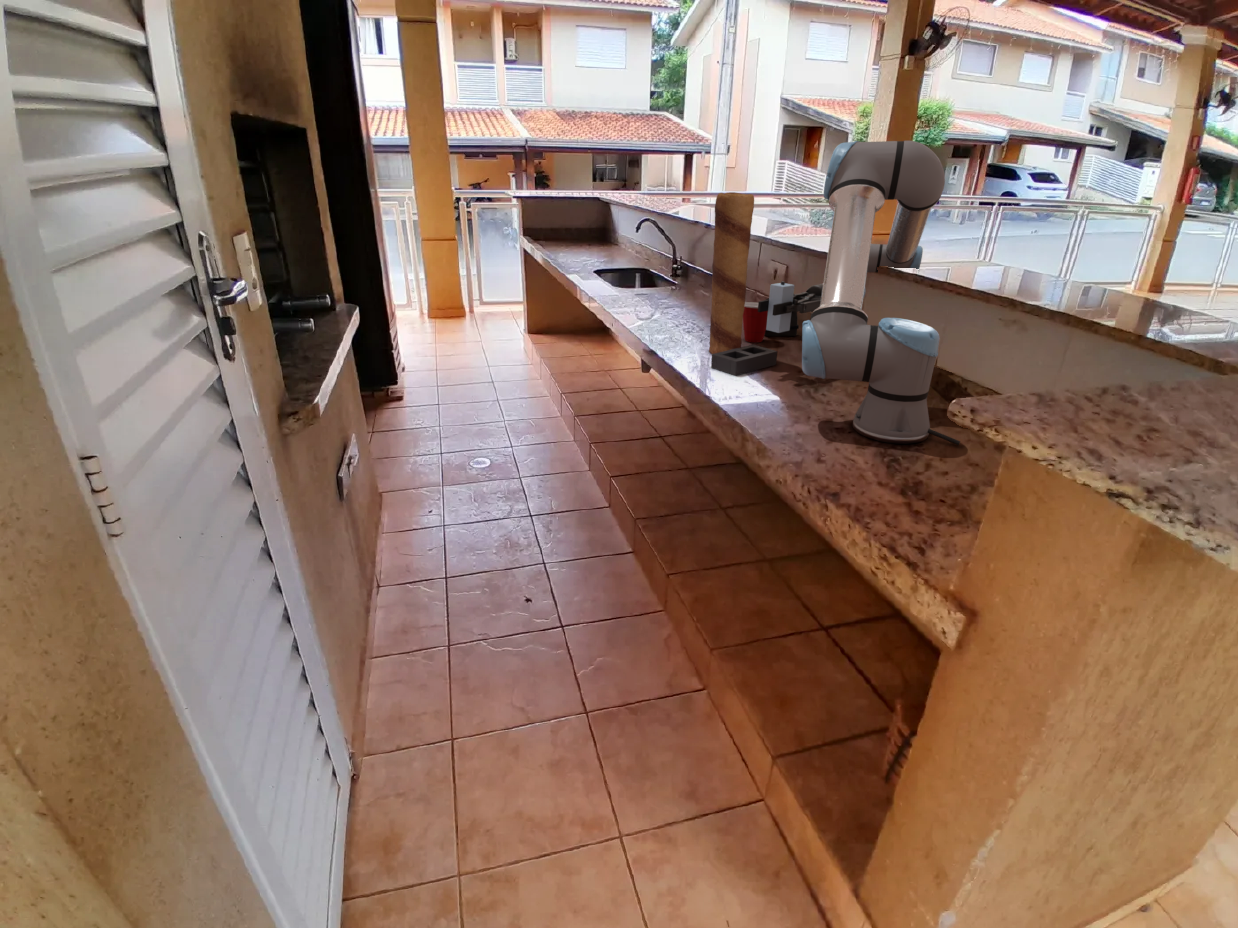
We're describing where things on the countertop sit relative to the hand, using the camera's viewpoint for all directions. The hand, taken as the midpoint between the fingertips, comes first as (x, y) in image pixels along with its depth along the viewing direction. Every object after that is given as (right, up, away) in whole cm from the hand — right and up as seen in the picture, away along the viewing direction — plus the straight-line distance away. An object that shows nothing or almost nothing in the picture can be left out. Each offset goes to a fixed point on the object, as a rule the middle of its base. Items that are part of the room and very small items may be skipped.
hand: (766, 308), depth 160 cm
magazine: (+15, +3, +47) cm, 50 cm away
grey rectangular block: (+4, -4, +6) cm, 8 cm away
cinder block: (-3, -13, +16) cm, 20 cm away
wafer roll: (-6, -6, +29) cm, 30 cm away
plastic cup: (+6, 0, +41) cm, 42 cm away
